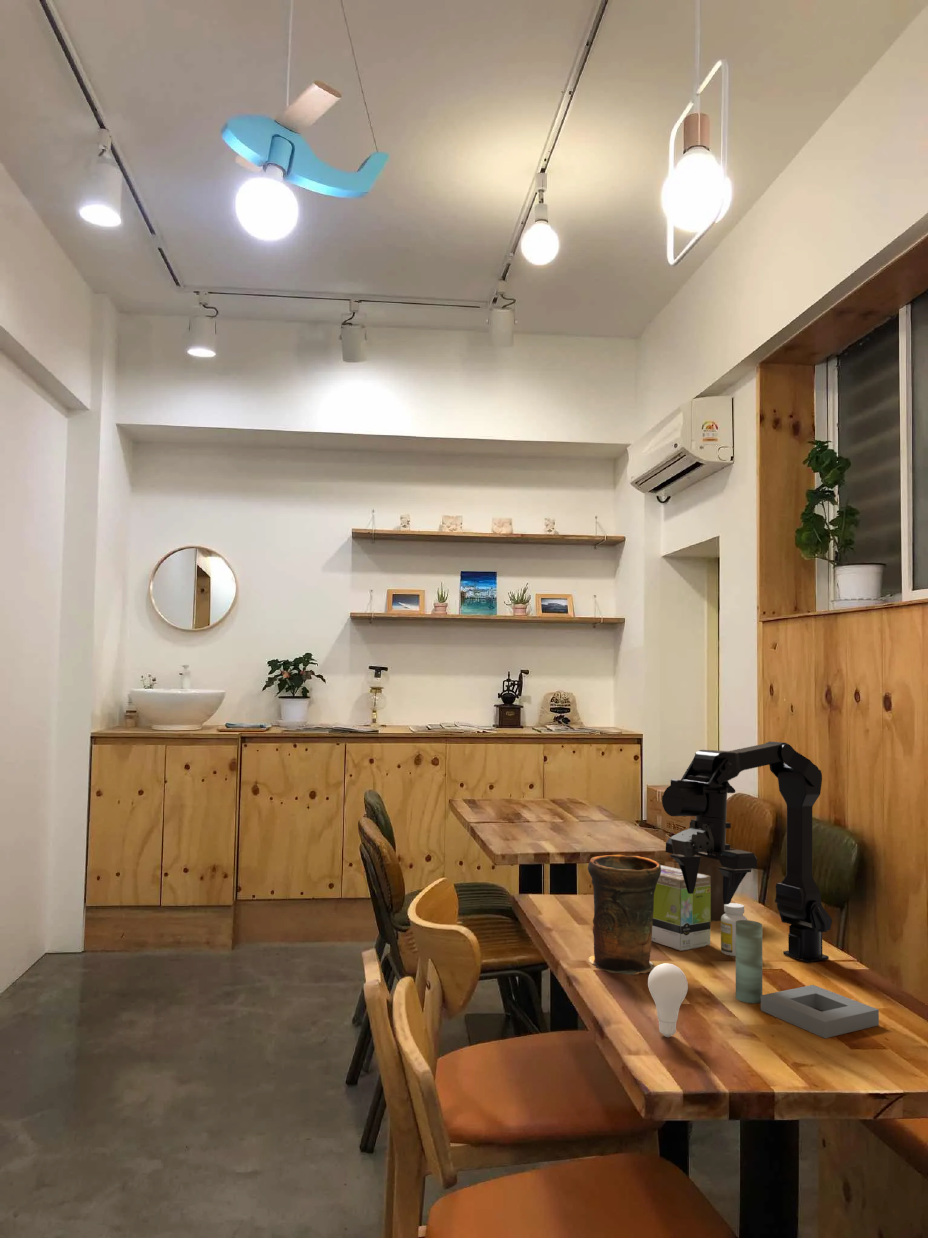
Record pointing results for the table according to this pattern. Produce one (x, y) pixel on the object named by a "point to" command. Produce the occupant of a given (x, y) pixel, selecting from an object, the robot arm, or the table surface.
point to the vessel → (623, 912)
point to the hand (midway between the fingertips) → (707, 898)
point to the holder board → (831, 1022)
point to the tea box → (681, 911)
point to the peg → (748, 961)
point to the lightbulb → (667, 995)
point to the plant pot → (714, 884)
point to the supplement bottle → (730, 927)
